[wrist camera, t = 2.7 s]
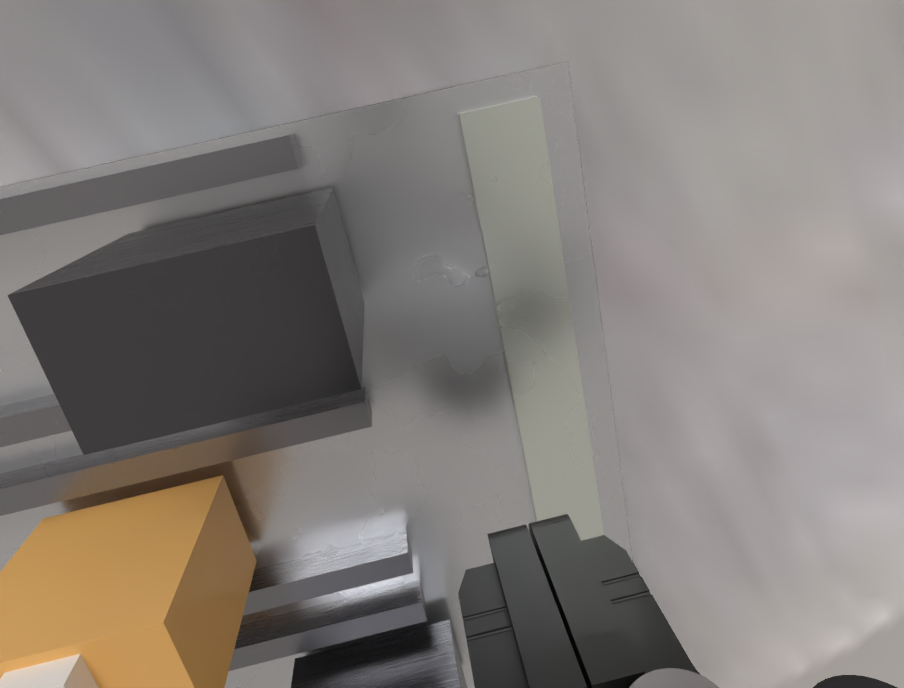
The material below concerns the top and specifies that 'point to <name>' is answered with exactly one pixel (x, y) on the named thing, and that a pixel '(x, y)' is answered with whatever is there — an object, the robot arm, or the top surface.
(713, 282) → the top surface
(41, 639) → the toggle
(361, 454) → the breaker panel
